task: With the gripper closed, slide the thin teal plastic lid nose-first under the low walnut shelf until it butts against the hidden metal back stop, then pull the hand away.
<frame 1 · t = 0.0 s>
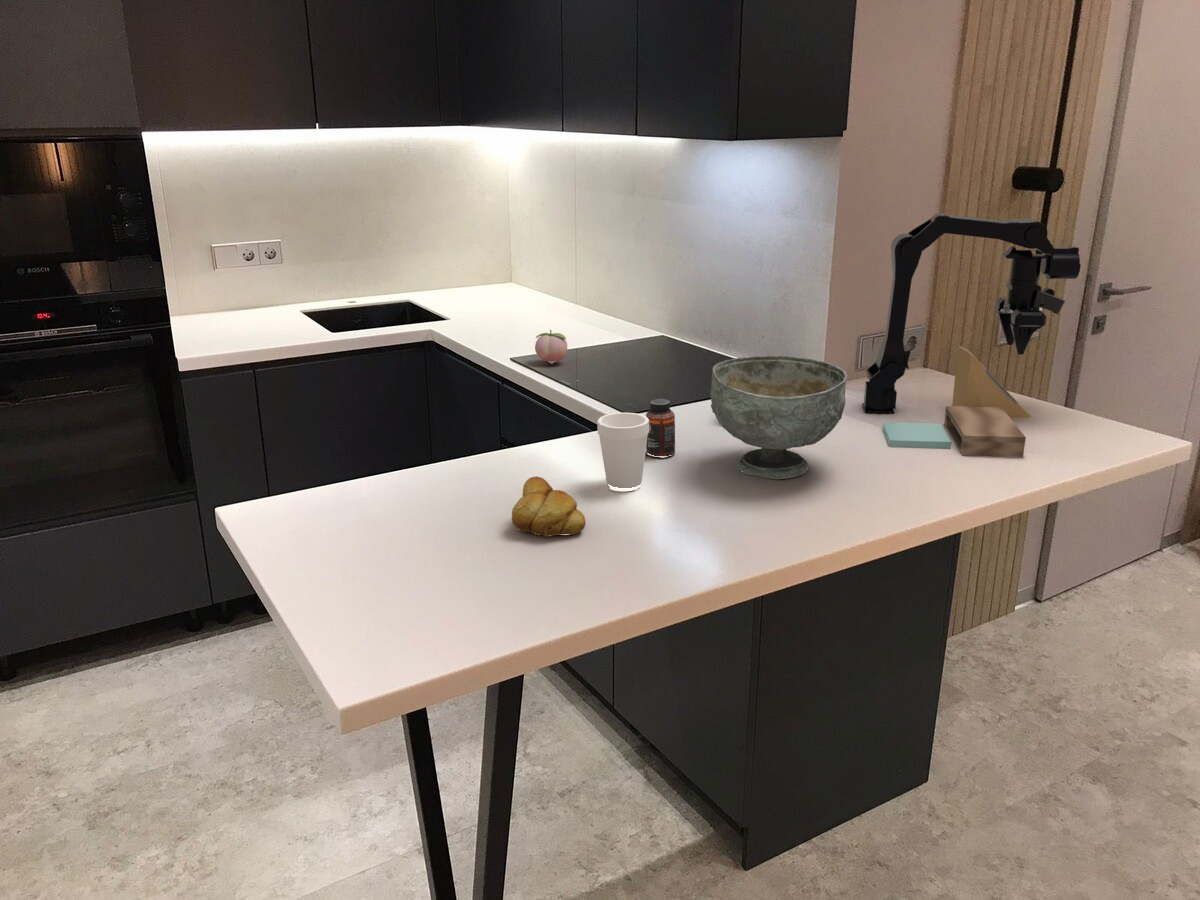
hand: (1015, 349, 207), 15 cm above the counter, tool pointing down, fingers open, 9 cm apart
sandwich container: (991, 414, 212), on the counter
low shelf: (981, 440, 195), on the counter
decorative fruit: (552, 365, 263), on the counter
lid: (915, 440, 197), on the counter
foam cup: (624, 486, 175), on the counter
decorative bowl: (774, 469, 182), on the counter
bread roll: (549, 531, 158), on the counter
supplement bottle: (660, 455, 191), on the counter
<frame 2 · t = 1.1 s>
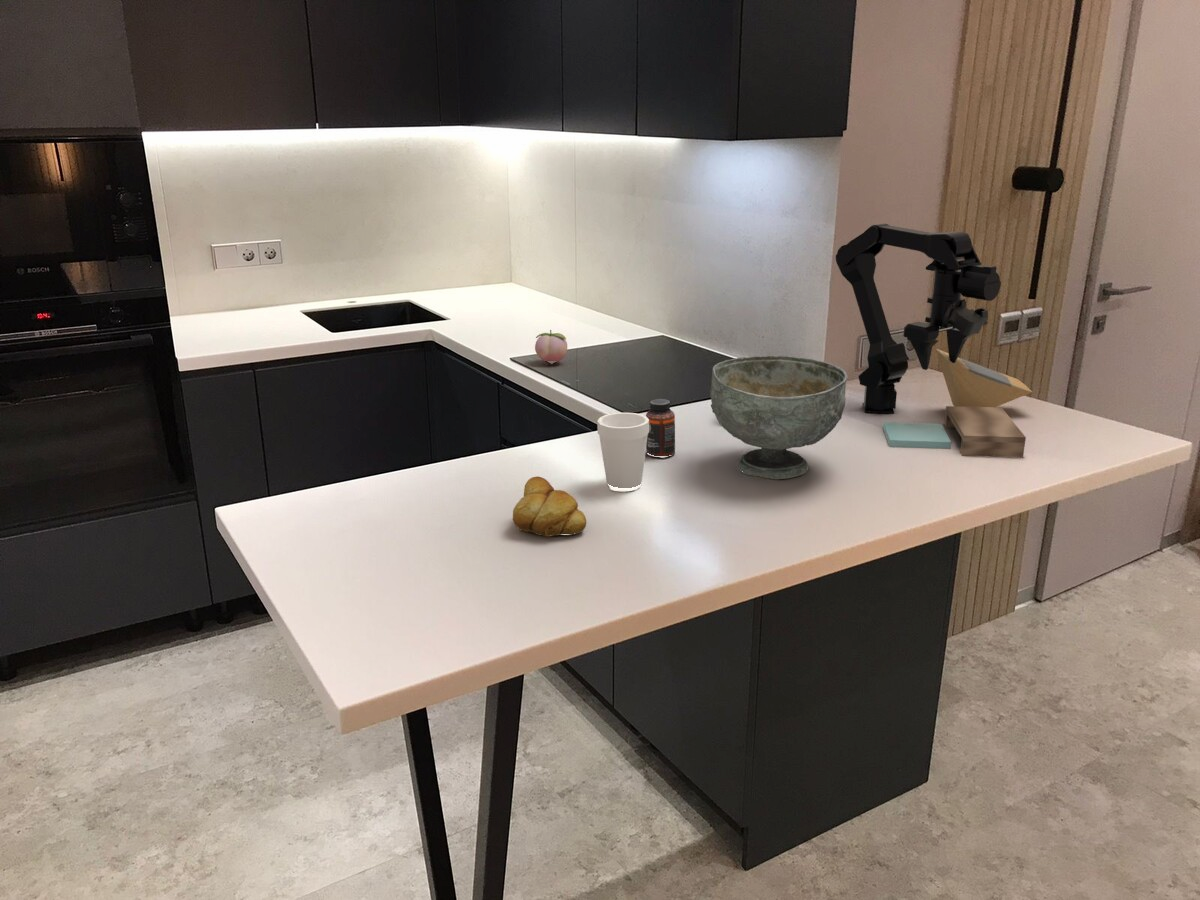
hand: (938, 366, 200), 13 cm above the counter, tool pointing down, fingers open, 9 cm apart
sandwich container: (992, 399, 211), point 3 cm above the counter, touching gripper
everything else where it was.
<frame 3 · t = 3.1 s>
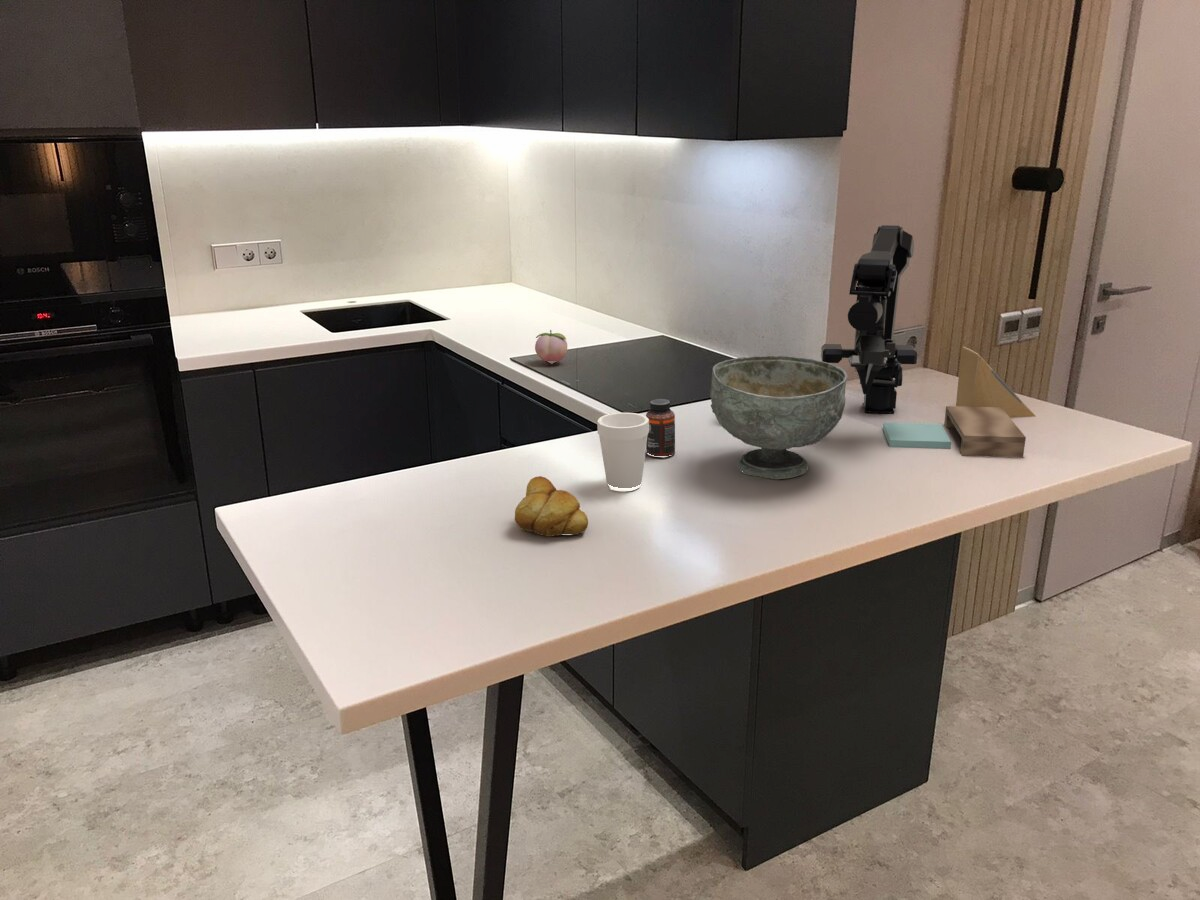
hand: (865, 393, 195), 9 cm above the counter, tool pointing down, fingers closed
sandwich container: (995, 413, 212), on the counter
everything else where it was.
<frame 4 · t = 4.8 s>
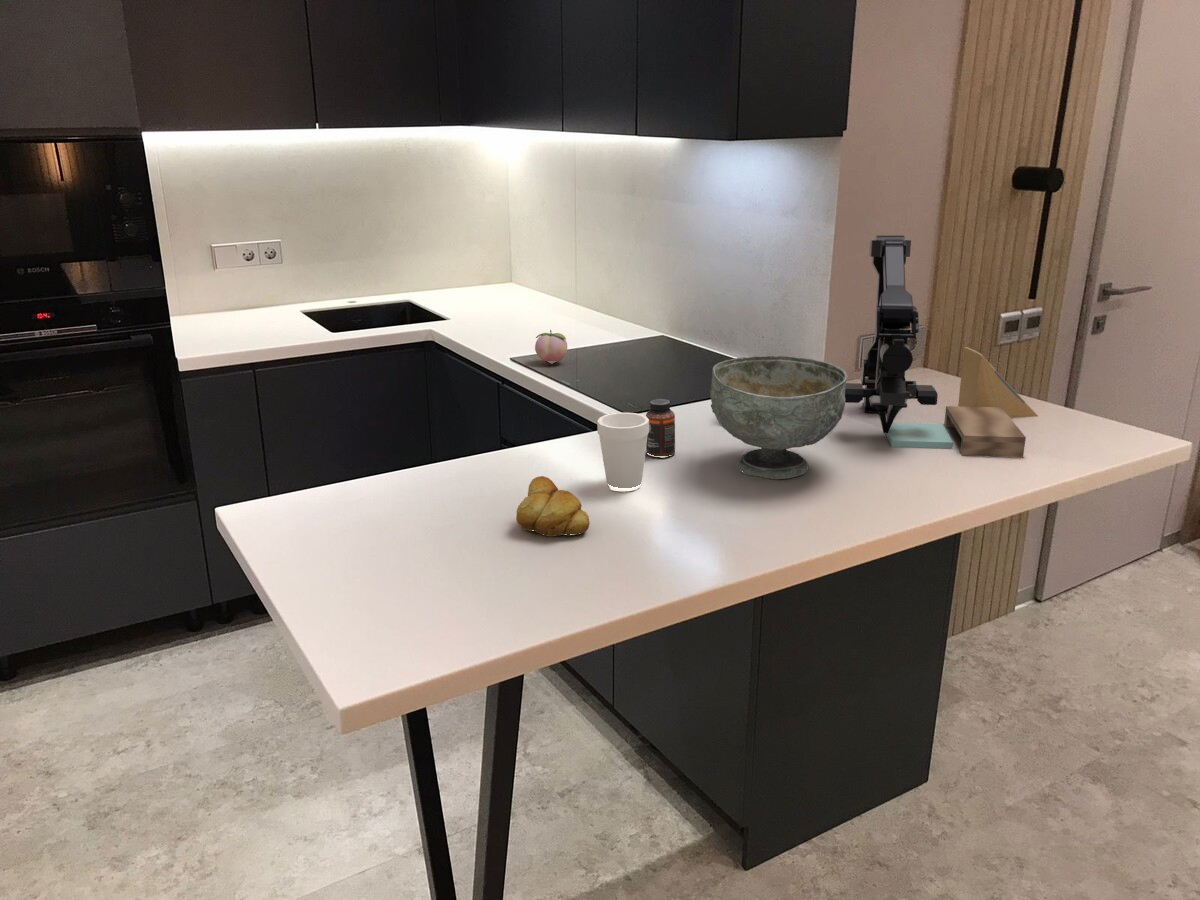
hand: (885, 432, 197), 1 cm above the counter, tool pointing down, fingers closed
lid: (916, 441, 197), on the counter, touching gripper
everything else where it was.
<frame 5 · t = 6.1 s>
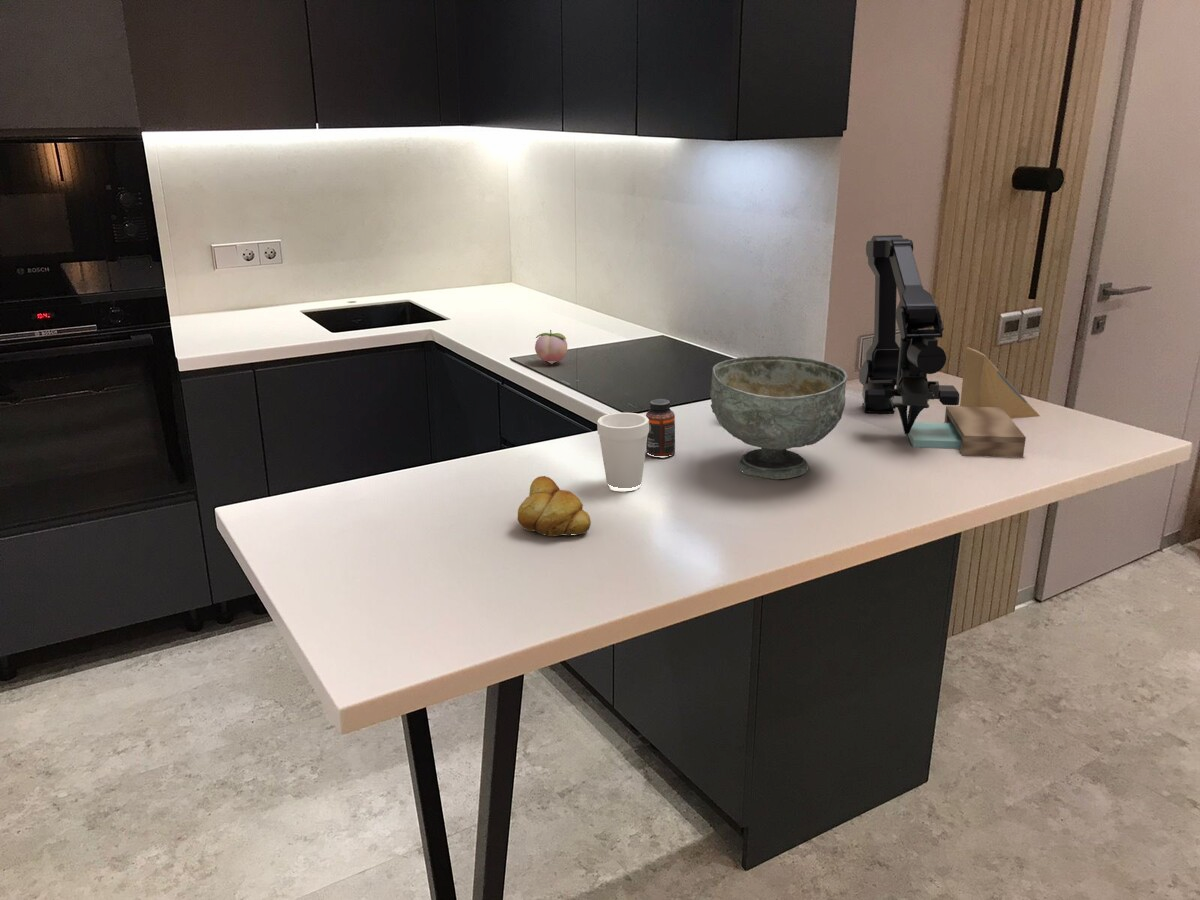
hand: (906, 433, 197), 1 cm above the counter, tool pointing down, fingers closed
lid: (938, 440, 196), on the counter
everything else where it was.
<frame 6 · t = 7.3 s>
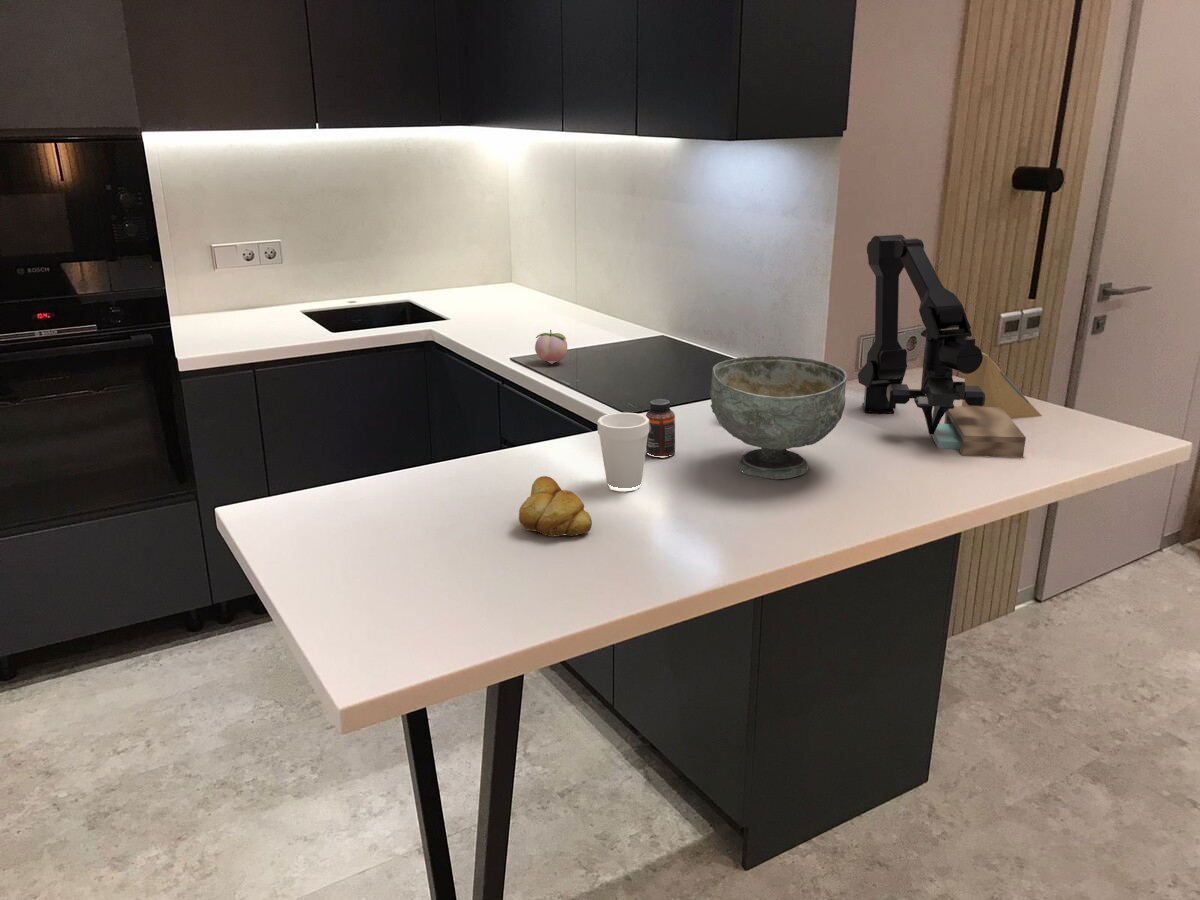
hand: (930, 433, 196), 1 cm above the counter, tool pointing down, fingers closed
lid: (963, 441, 195), on the counter
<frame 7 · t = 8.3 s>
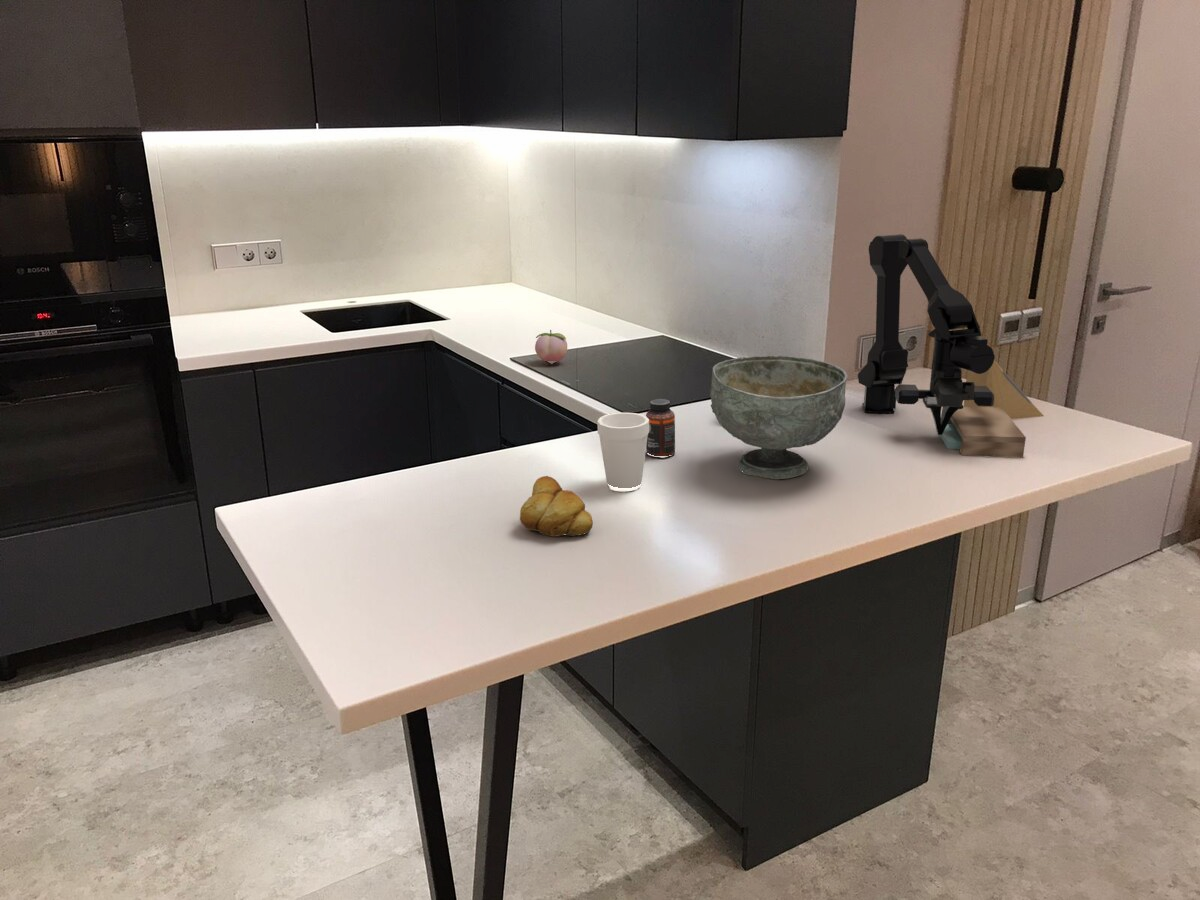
hand: (939, 434, 196), 1 cm above the counter, tool pointing down, fingers closed
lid: (971, 442, 195), on the counter
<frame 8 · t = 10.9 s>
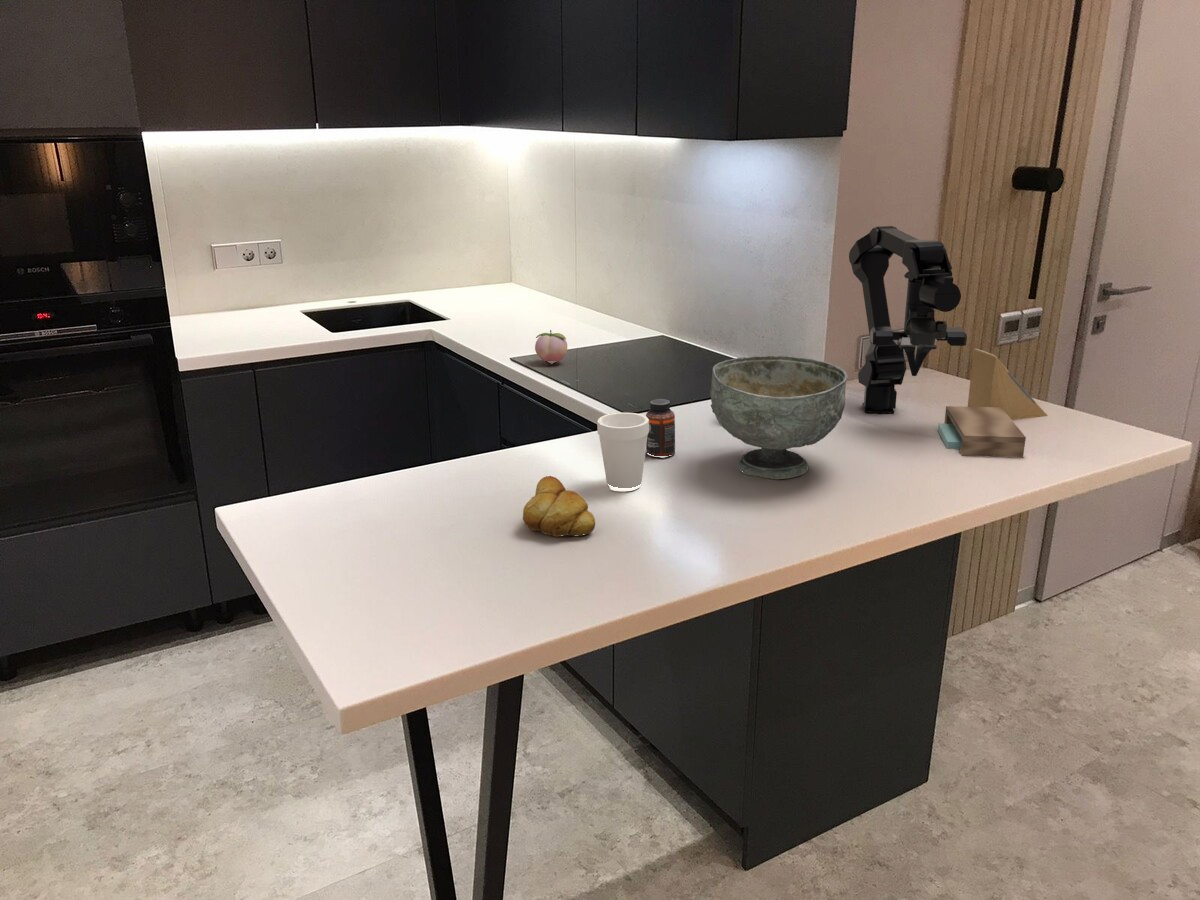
hand: (913, 375, 198), 12 cm above the counter, tool pointing down, fingers closed
at the end: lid 0.1 cm from the target spot on the low shelf, point -0.6 cm above the low shelf's base; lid tilted 0° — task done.
